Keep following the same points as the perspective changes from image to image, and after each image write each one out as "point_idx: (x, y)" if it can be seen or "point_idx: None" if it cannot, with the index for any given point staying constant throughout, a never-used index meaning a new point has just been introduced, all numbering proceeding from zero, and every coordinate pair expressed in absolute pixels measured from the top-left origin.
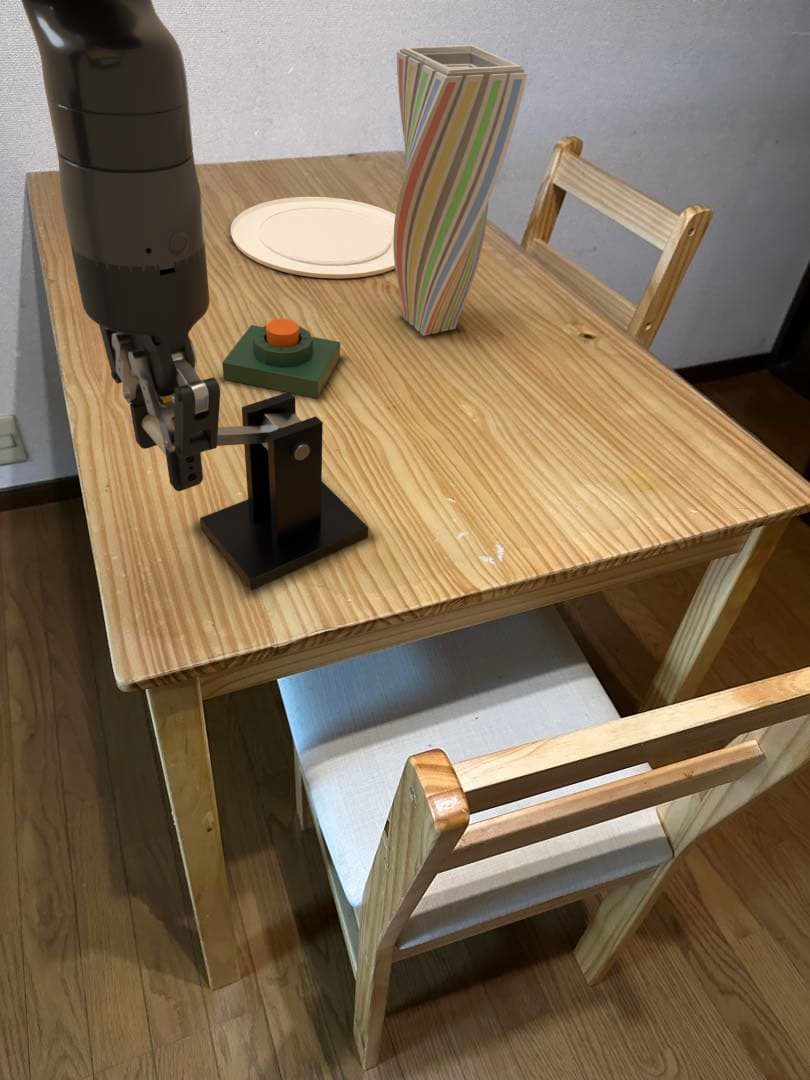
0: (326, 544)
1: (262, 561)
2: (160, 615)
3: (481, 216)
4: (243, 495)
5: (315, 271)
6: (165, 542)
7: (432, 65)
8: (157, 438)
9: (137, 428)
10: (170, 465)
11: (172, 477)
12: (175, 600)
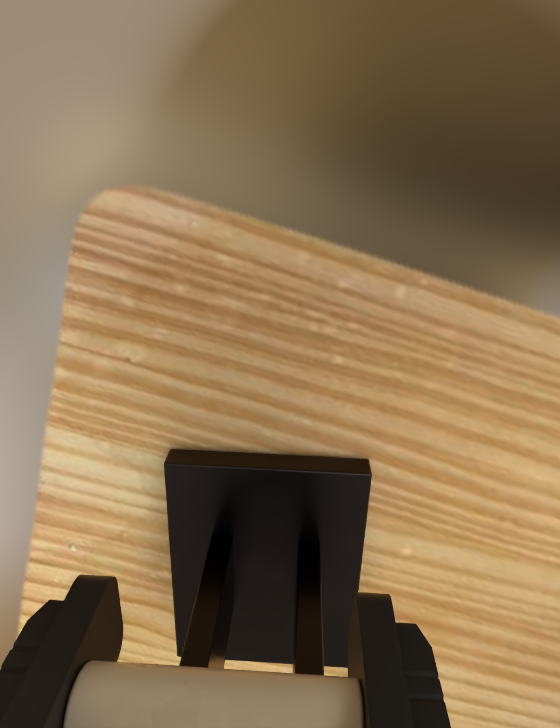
0: (176, 594)
1: (195, 501)
2: (199, 293)
3: None
4: (398, 553)
5: None
6: (375, 390)
7: None
8: (209, 713)
9: (366, 671)
10: (32, 671)
11: (58, 619)
12: (220, 334)
